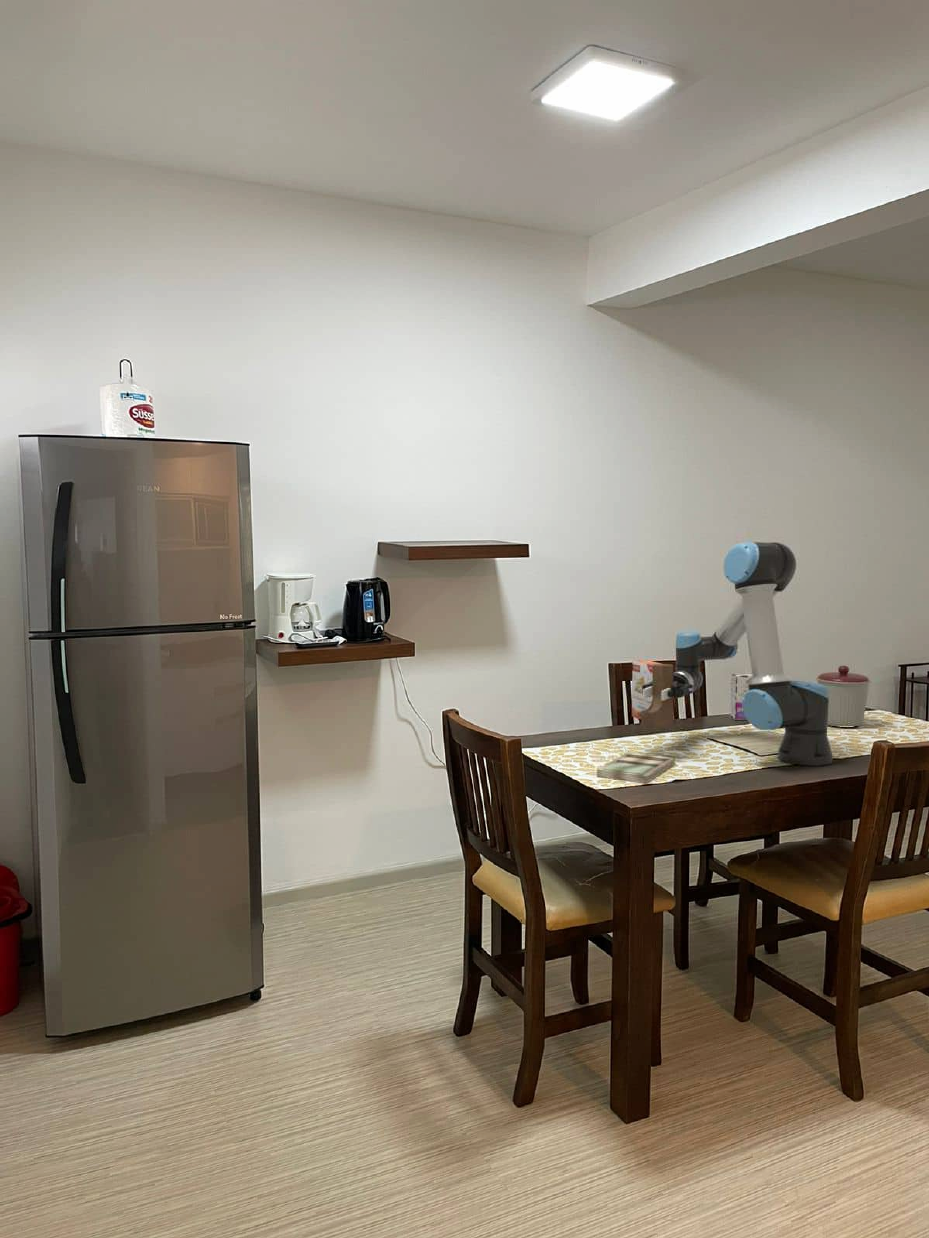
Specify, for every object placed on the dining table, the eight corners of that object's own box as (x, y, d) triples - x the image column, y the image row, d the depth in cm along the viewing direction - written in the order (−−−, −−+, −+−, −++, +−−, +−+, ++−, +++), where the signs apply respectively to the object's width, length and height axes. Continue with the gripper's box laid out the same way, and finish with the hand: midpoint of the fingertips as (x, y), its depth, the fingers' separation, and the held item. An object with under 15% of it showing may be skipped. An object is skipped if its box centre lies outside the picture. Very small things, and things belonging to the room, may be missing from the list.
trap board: (674, 764, 271) (674, 756, 271) (646, 783, 250) (646, 774, 250) (628, 758, 278) (628, 751, 278) (596, 776, 257) (597, 768, 257)
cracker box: (630, 717, 343) (631, 660, 341) (644, 716, 345) (646, 659, 344) (651, 724, 330) (653, 664, 328) (666, 723, 332) (668, 664, 331)
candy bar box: (758, 717, 343) (760, 673, 342) (764, 720, 338) (766, 675, 337) (729, 718, 342) (730, 673, 340) (735, 721, 337) (736, 675, 335)
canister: (825, 730, 321) (827, 669, 319) (805, 720, 339) (808, 662, 337) (878, 730, 321) (881, 669, 319) (856, 720, 339) (858, 662, 337)
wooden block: (651, 727, 274) (650, 665, 274) (640, 726, 278) (640, 664, 278) (674, 725, 279) (673, 664, 279) (663, 723, 283) (663, 663, 283)
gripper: (706, 699, 289) (683, 710, 269) (649, 694, 298) (623, 705, 278) (706, 674, 288) (683, 684, 268) (650, 670, 297) (623, 679, 277)
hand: (653, 694), depth 273 cm, fingers closed on wooden block, 5 cm apart
